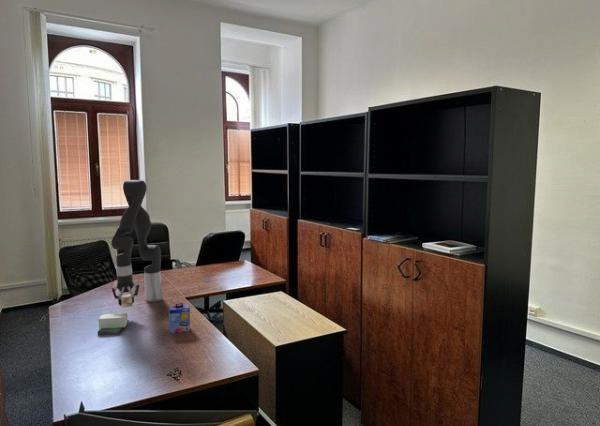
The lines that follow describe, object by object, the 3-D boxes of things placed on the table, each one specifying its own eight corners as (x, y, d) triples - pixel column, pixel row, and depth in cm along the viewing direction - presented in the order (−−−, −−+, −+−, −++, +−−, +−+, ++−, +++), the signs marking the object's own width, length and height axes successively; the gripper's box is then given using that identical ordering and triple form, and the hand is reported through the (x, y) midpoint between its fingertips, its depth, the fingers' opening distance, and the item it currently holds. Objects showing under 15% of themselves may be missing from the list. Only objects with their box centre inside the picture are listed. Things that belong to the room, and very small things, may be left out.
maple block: (130, 302, 228) (130, 294, 227) (132, 306, 224) (131, 296, 223) (120, 304, 226) (120, 295, 225) (122, 307, 221) (121, 298, 220)
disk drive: (108, 325, 218) (97, 337, 204) (108, 320, 218) (97, 331, 203) (129, 324, 219) (119, 336, 205) (128, 319, 219) (119, 330, 204)
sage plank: (127, 322, 215) (127, 313, 215) (125, 327, 210) (124, 317, 209) (102, 324, 213) (101, 314, 213) (99, 328, 207) (98, 319, 207)
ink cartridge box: (170, 334, 206) (169, 305, 204) (168, 329, 211) (167, 301, 209) (190, 331, 210) (190, 302, 208) (189, 326, 215) (188, 299, 213)
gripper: (110, 277, 215) (112, 309, 218) (140, 273, 222) (141, 304, 225) (108, 273, 222) (111, 304, 224) (137, 269, 229) (139, 300, 231)
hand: (126, 304), depth 224 cm, fingers closed on maple block, 5 cm apart
